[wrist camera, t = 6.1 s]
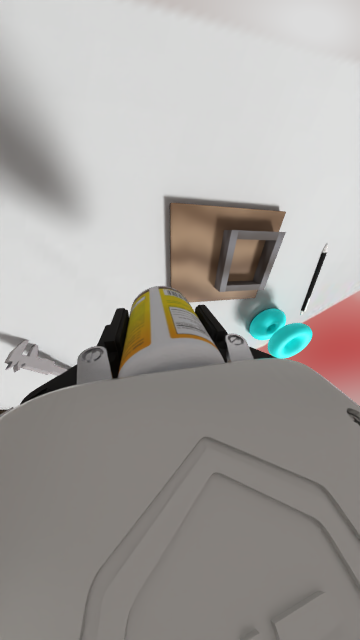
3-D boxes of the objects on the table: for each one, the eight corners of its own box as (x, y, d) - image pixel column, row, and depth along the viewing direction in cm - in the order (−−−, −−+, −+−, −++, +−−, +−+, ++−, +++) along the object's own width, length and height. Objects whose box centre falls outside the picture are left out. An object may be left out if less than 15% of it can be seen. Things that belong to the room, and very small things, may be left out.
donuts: (275, 340, 28) (321, 321, 28) (246, 315, 36) (281, 300, 36) (273, 366, 34) (310, 350, 33) (248, 340, 42) (278, 327, 42)
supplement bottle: (139, 338, 14) (128, 484, 6) (123, 288, 11) (57, 446, 3) (189, 328, 15) (242, 447, 7) (187, 279, 12) (281, 386, 4)
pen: (298, 314, 41) (302, 316, 40) (323, 244, 30) (329, 244, 29) (301, 313, 41) (304, 315, 40) (326, 243, 30) (332, 243, 29)
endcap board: (169, 204, 20) (174, 199, 17) (280, 212, 24) (299, 209, 21) (170, 301, 29) (173, 309, 26) (251, 295, 33) (262, 302, 30)
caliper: (22, 340, 27) (-6, 366, 22) (27, 338, 27) (-1, 363, 22) (100, 383, 39) (93, 407, 34) (103, 382, 39) (97, 405, 34)
